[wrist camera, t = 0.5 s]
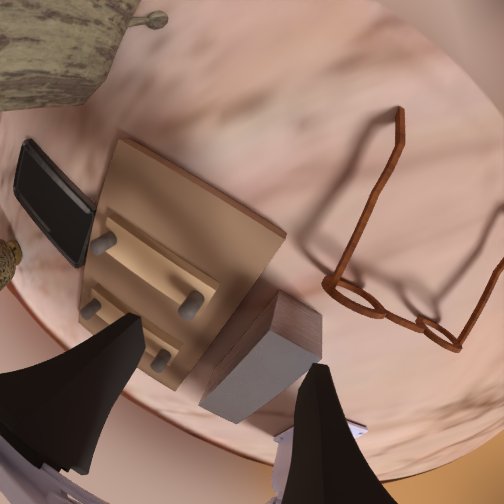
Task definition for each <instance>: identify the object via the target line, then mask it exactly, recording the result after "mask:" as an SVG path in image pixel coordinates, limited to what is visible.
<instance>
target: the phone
mask: <svg viewBox="0 0 504 504" xmlns="http://www.w3.org/2000/svg"><path fill="white" fill-rule="evenodd" d="M13 191H14V195H15V197H16V198H17V200H18V201H19V202H20V204H21V205H22V207H23V208H24V209H25V210H26V212H27V213H28V214H29V216H30V217H31V218H32V220H33V221H34V222H35V223H36V225H37V226H38V227H39V228H40V229H41V231H42V232H43V233H44V234H45V236H46V237H47V238H48V239H49V240H50V241H51V243H52V244H53V245H54V246H55V247H56V248H57V249H58V251H59V252H60V253H61V254H62V255H63V256H64V257H65V258H66V259H67V260H68V262H69V263H70V264H71V265H72V266H73V267H75V268H79V267H81V266H82V265H84V264H85V263H86V257H87V252H88V246H89V241H90V237H91V232H92V227H93V223H94V219H95V215H96V211H97V206H96V205H95V204H94V203H93V202H92V201H91V200H90V199H89V198H88V197H87V196H86V195H85V194H84V193H83V192H82V191H81V190H80V189H79V188H78V187H77V186H76V185H75V184H74V183H73V182H72V181H71V180H70V179H69V178H68V177H67V176H66V175H65V174H64V173H63V172H62V171H61V170H60V169H59V168H58V167H57V166H56V165H55V164H54V162H53V161H52V160H51V159H50V158H49V157H48V156H47V155H46V154H45V153H44V152H43V151H42V150H41V148H40V147H39V146H38V145H37V144H36V143H35V142H34V141H33V140H32V139H27V140H24V142H23V143H22V146H21V150H20V155H19V159H18V164H17V168H16V173H15V179H14V185H13Z"/></svg>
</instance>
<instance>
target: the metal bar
mask: <svg viewBox="0 0 504 504" xmlns="http://www.w3.org/2000/svg"><path fill="white" fill-rule="evenodd" d="M321 359H322V315H321V314H319V313H317V312H316V311H314V310H312V309H311V308H309V307H307V306H306V305H304V304H302V303H301V302H299V301H297V300H296V299H294V298H293V297H291V296H289V295H288V294H286V293H284V292H283V291H281V290H279V291H278V293H277V294H276V295H275V296H274V298H273V299H272V300H271V302H270V303H269V304H268V305H267V307H266V308H265V309H264V310H263V312H262V313H261V314H260V315H259V317H258V318H257V319H256V320H255V322H254V323H253V324H252V325H251V326H250V328H249V329H248V330H247V331H246V333H245V334H244V335H243V336H242V337H241V339H240V340H239V341H238V342H237V343H236V345H235V346H234V347H233V348H232V349H231V351H230V352H229V353H228V354H227V355H226V357H225V358H224V359H223V360H222V361H221V362H220V364H219V365H218V366H217V367H216V368H215V369H214V371H213V374H212V376H211V378H210V380H209V383H208V385H207V387H206V389H205V392H204V394H203V396H202V398H201V400H200V403H199V405H198V406H200V407H202V408H204V409H206V410H208V411H210V412H212V413H214V414H216V415H218V416H220V417H222V418H224V419H226V420H228V421H230V422H233V423H235V424H238V423H239V422H241V421H242V420H244V419H245V418H247V417H248V416H249V415H251V414H252V413H254V412H255V411H257V410H258V409H259V408H261V407H262V406H264V405H265V404H266V403H268V402H269V401H270V400H272V399H273V398H274V397H276V396H277V395H278V394H280V393H281V392H282V391H283V390H285V389H286V388H287V387H289V386H290V385H291V384H292V383H294V382H295V381H296V380H297V379H298V378H300V377H301V376H302V375H303V374H305V373H306V372H307V371H308V370H309V369H310V367H311V365H312V363H317V362H319V361H320V360H321Z"/></svg>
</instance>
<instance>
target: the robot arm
mask: <svg viewBox="0 0 504 504" xmlns="http://www.w3.org/2000/svg"><path fill="white" fill-rule="evenodd" d="M145 349H146V345H145V339H144V333H143V326H142V320H141V316H138V315H136V314H133V313H130V312H128V313H127V314H125V315H124V316H122V317H121V318H119V319H118V320H116V321H115V322H113V323H112V324H110V325H109V326H107V327H106V328H104V329H103V330H101V331H100V332H98V333H97V334H95V335H93V336H92V337H90V338H89V339H87V340H86V341H84V342H82V343H80V344H79V345H77V346H75V347H74V348H72V349H70V350H68V351H66V352H64V353H63V354H60V355H58V356H56V357H54V358H52V359H50V360H47V361H44V362H42V363H39V364H36V365H34V366H31V367H28V368H24V369H21V370H17V371H13V372H7V373H1V374H0V491H1V492H2V493H3V495H4V496H5V497H6V498H7V499H8V501H9V502H10V503H11V504H81V503H83V504H109V503H107V502H106V501H104V500H102V499H100V498H98V497H96V496H94V495H93V494H91V493H89V492H88V491H86V490H84V489H83V488H81V487H80V486H78V485H76V484H75V483H73V482H72V481H70V480H69V479H67V478H66V477H64V476H63V475H62V474H60V473H59V472H60V470H61V469H63V470H64V471H66V472H69V470H70V468H71V469H73V470H74V471H76V472H77V473H79V474H80V475H87V474H88V473H89V469H90V465H91V461H92V458H93V454H94V451H95V448H96V445H97V442H98V439H99V437H100V434H101V431H102V429H103V426H104V424H105V422H106V419H107V417H108V415H109V413H110V411H111V408H112V407H113V405H114V403H115V401H116V400H117V398H118V397H119V395H120V393H121V392H122V390H123V389H124V387H125V385H126V384H127V382H128V381H129V379H130V377H131V376H132V374H133V373H134V371H135V369H136V368H137V366H138V364H139V362H140V360H141V358H142V355H143V353H144V351H145ZM367 431H368V429H367V428H366V427H363V426H360V425H357V424H354V423H351V422H349V421H347V420H346V418H345V415H344V413H343V410H342V407H341V404H340V402H339V399H338V396H337V393H336V390H335V386H334V383H333V380H332V376H331V373H330V369H329V367H328V365H324V364H318V363H312V365H311V367H310V369H309V371H308V373H307V375H306V377H305V379H304V380H303V382H302V384H301V386H300V388H299V389H298V395H297V401H296V406H295V414H294V427H292V428H290V429H288V430H286V431H285V432H283V433H281V434H279V435H277V436H275V437H274V438H273V440H274V441H275V442H278V443H279V444H278V449H277V454H276V459H275V463H274V468H273V473H272V477H271V482H272V487H273V489H274V491H275V492H276V493H277V495H278V497H273V498H271V499H270V500H269V501H268V502H267V503H266V504H398V503H397V502H396V501H395V500H394V499H393V498H392V497H391V495H390V494H389V493H388V492H387V491H386V489H385V488H384V487H383V485H382V484H381V483H380V481H379V480H378V478H377V477H376V475H375V474H374V472H373V471H372V469H371V468H370V466H369V465H368V463H367V461H366V460H365V458H364V456H363V454H362V453H361V451H360V449H359V447H358V445H357V443H356V441H355V438H357V437H359V436H361V435H363V434H365V433H366V432H367ZM67 494H69V495H71V496H72V497H73V498H75V499H76V500H78V501H80V502H81V503H79V502H77V501H75V500H73V499H71V498H69V497H68V496H67Z"/></svg>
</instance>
